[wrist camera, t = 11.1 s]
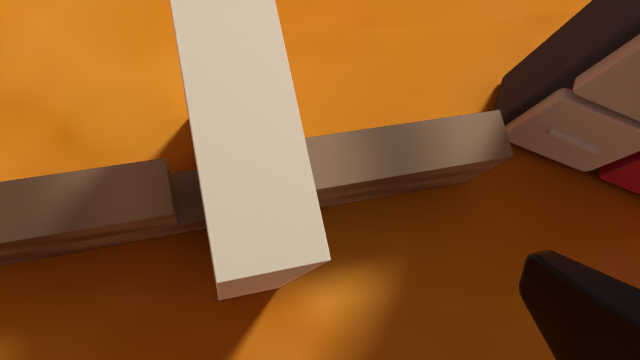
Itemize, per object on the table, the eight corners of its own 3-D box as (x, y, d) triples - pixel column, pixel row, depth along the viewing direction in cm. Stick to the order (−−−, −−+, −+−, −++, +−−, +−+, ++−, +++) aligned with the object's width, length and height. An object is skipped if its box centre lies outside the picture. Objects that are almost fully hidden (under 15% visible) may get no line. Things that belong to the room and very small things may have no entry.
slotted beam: (456, 142, 25) (499, 109, 21) (467, 181, 24) (514, 155, 20) (-61, 224, 19) (-129, 200, 16) (-58, 275, 19) (-128, 264, 15)
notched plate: (278, 288, 21) (330, 259, 11) (218, 300, 21) (217, 282, 11) (245, 110, 23) (263, -51, 13) (188, 117, 22) (163, -45, 12)
